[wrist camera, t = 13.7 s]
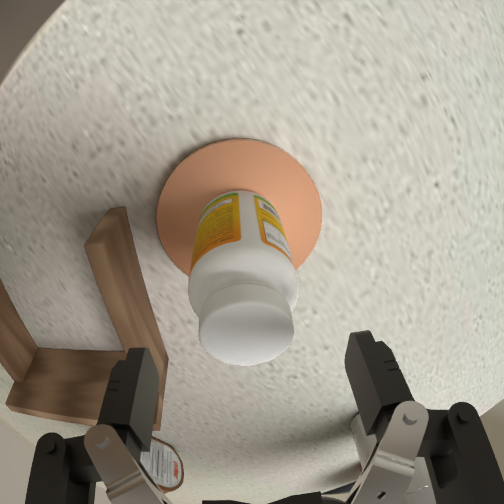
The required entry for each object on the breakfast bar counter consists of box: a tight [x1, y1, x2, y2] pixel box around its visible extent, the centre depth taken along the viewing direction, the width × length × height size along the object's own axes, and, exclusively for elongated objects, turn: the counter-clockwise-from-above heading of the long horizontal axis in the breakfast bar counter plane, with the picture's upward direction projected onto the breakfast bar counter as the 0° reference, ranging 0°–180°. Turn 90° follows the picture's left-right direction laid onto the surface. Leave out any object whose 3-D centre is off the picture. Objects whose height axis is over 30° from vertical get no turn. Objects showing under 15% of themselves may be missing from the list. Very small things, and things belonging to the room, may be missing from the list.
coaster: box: [157, 139, 322, 276], centre depth 22 cm, size 11×11×1 cm
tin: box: [140, 437, 184, 493], centre depth 35 cm, size 15×3×8 cm, turn 37°
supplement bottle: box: [188, 190, 299, 366], centre depth 17 cm, size 5×5×10 cm
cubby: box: [0, 207, 169, 431], centre depth 21 cm, size 16×16×8 cm
